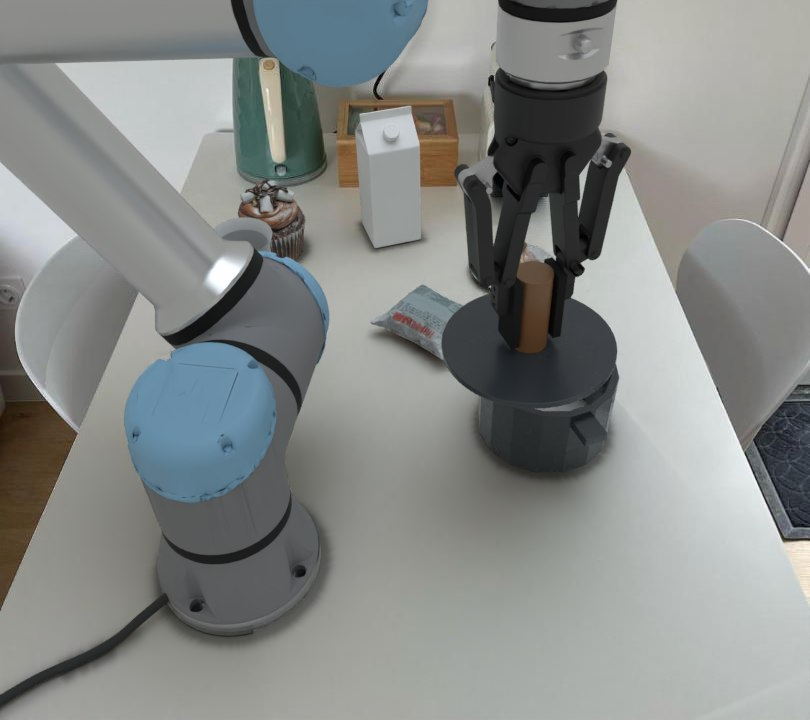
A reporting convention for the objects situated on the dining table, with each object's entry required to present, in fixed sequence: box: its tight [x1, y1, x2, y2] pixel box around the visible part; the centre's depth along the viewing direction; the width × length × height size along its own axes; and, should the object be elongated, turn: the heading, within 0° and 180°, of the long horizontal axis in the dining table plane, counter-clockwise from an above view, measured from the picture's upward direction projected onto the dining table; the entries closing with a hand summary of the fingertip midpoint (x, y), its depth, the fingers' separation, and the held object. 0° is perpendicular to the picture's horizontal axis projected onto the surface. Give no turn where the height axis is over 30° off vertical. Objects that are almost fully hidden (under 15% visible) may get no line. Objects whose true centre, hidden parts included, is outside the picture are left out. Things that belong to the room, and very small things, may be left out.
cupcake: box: [237, 178, 307, 261], centre depth 113 cm, size 10×10×10 cm
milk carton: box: [354, 105, 422, 249], centre depth 113 cm, size 7×7×19 cm
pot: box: [477, 362, 620, 473], centre depth 87 cm, size 14×19×9 cm
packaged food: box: [369, 284, 464, 361], centre depth 100 cm, size 9×12×5 cm
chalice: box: [213, 217, 273, 252], centre depth 94 cm, size 7×7×18 cm
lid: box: [441, 261, 618, 409], centre depth 69 cm, size 15×15×9 cm
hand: (529, 332), depth 70 cm, fingers closed on lid, 3 cm apart
